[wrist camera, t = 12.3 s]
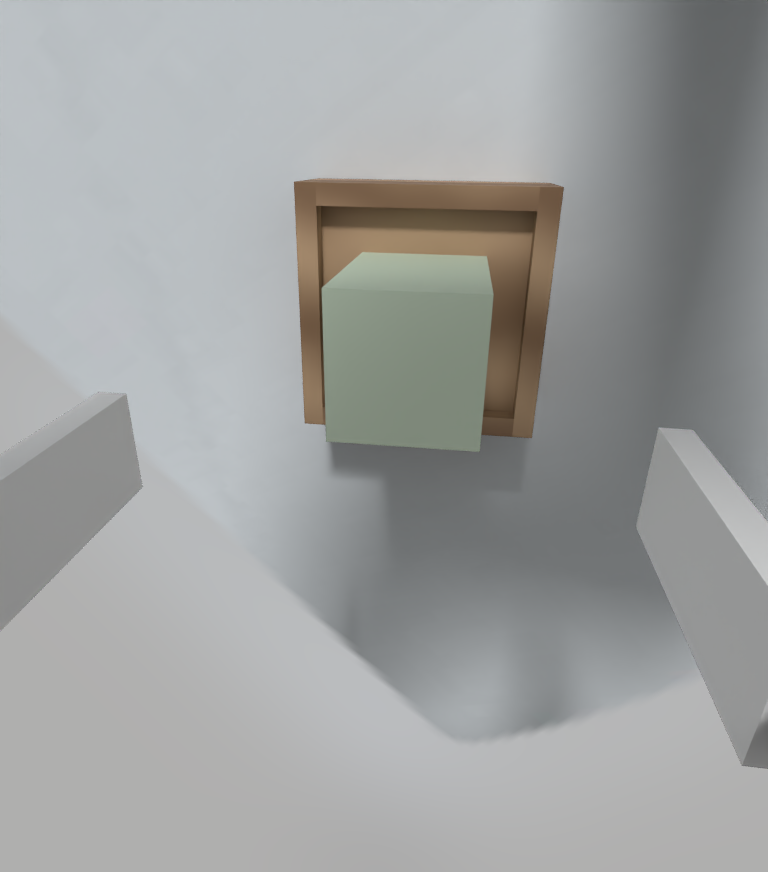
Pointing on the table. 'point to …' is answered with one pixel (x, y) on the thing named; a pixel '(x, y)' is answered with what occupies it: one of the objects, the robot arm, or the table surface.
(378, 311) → the green block
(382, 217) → the brown crate
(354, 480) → the table surface
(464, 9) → the table surface
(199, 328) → the table surface
